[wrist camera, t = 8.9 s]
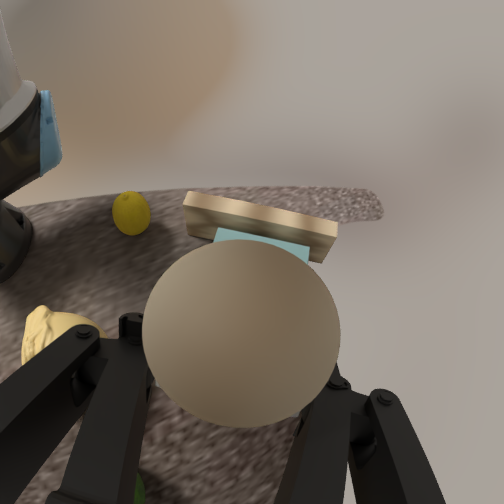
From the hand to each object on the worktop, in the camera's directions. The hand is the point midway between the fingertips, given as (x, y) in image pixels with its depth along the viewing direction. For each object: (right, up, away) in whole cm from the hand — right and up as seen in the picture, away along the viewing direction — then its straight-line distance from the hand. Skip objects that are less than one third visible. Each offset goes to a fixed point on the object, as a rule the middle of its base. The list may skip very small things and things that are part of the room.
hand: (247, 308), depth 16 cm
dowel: (-1, -6, +2) cm, 6 cm away
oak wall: (+1, +5, +26) cm, 27 cm away
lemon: (-17, +6, +26) cm, 32 cm away
